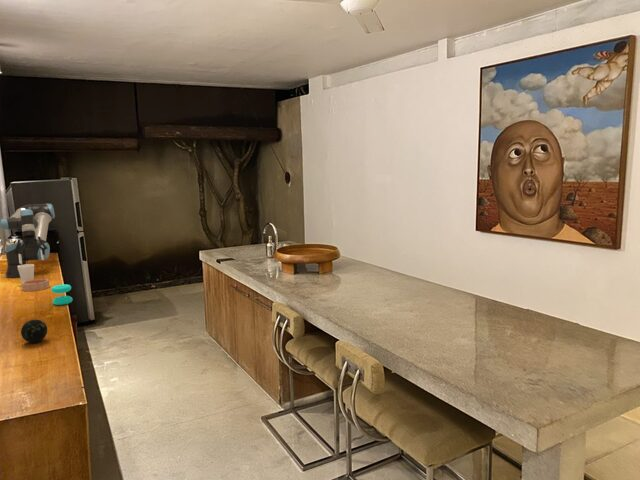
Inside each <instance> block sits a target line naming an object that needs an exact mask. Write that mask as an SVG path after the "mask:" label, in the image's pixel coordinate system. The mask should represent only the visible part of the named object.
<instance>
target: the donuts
mask: <svg viewBox="0 0 640 480" xmlns="http://www.w3.org/2000/svg"><path fill="white" fill-rule="evenodd" d="M71 290H72V286H71V285H70V284H64V283H63V284H57V285H54V286H52V287H51V290H50V291H51V292H52V293H54V294H65V293H68V292H70V291H71ZM73 300H74V299H73V297H72V296H70V295H61V296H56V297H55V298H54V299H52V303H53V305H56V306H65V305H69V304H72V302H73Z"/></svg>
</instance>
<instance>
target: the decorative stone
mask: <svg viewBox="0 0 640 480" xmlns="http://www.w3.org/2000/svg"><path fill="white" fill-rule="evenodd" d="M47 334H48V326H47V324H46V323H45V321H43V320H40V319H30V320H27V321H26V322H25V323H24V324H23V325H22V327H21V329H20V335H21V337H22V339H24V341H26V342H28V343H31V344H33V343H34V344H35V343H40V342H41V341H43V340H44V339H45V337H46V336H47Z"/></svg>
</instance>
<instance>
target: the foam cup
mask: <svg viewBox="0 0 640 480" xmlns="http://www.w3.org/2000/svg"><path fill="white" fill-rule="evenodd" d="M18 270H19V274H20V277H19V278H20V282H21V283H22V282H24V281H28V280H33V279H35V264H33V263H27V264H25V265H19V266H18Z"/></svg>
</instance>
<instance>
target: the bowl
mask: <svg viewBox="0 0 640 480" xmlns="http://www.w3.org/2000/svg"><path fill="white" fill-rule="evenodd" d="M49 288H50V278H49V279H48V278H36V279H35V278H34V279H33V280H28V281H24V282H22V281H21V290H22V292H38V291H42V290H43V291H44V290H46V289H49Z"/></svg>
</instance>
